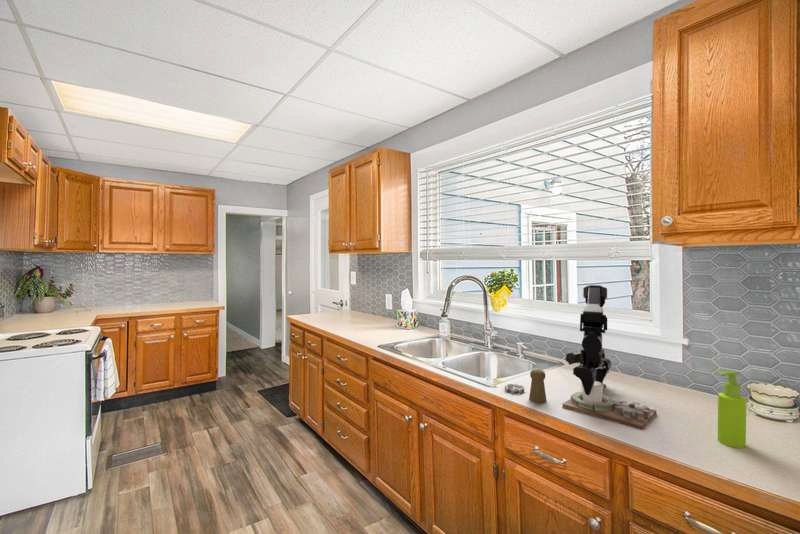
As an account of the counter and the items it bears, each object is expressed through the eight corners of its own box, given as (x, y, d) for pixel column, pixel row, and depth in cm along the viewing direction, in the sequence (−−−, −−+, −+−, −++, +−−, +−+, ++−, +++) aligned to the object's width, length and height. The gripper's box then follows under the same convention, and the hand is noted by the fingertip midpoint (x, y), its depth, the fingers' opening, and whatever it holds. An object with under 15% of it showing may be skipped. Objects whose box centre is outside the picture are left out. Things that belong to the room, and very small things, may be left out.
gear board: (580, 395, 142) (581, 384, 142) (656, 414, 124) (656, 402, 124) (562, 407, 131) (562, 395, 131) (642, 429, 113) (642, 416, 113)
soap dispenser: (708, 438, 108) (709, 368, 107) (731, 437, 108) (731, 367, 108) (728, 448, 102) (729, 375, 101) (751, 447, 102) (752, 374, 102)
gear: (507, 386, 152) (506, 382, 152) (525, 389, 149) (525, 385, 149) (503, 392, 146) (503, 388, 146) (522, 395, 143) (522, 391, 142)
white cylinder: (578, 403, 131) (578, 383, 131) (585, 397, 136) (585, 378, 136) (600, 408, 126) (600, 387, 126) (606, 402, 131) (606, 382, 131)
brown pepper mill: (548, 404, 134) (548, 373, 133) (530, 402, 135) (530, 372, 135) (545, 397, 140) (545, 368, 139) (527, 396, 141) (527, 367, 141)
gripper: (579, 339, 143) (579, 379, 143) (557, 347, 130) (557, 392, 130) (611, 343, 135) (611, 387, 135) (591, 353, 122) (591, 401, 122)
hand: (592, 391), depth 131 cm, fingers open, 9 cm apart
